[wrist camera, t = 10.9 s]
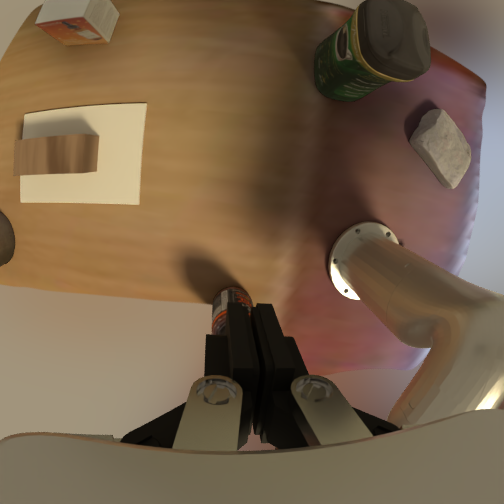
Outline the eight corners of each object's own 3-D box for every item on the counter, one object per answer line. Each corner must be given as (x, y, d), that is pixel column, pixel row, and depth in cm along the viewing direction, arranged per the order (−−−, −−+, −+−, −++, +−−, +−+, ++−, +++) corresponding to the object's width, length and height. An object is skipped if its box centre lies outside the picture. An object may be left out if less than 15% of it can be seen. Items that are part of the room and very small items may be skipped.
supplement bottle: (260, 300, 45) (272, 341, 35) (235, 327, 46) (241, 372, 36) (228, 277, 44) (232, 315, 33) (204, 306, 45) (201, 349, 34)
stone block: (423, 105, 41) (403, 143, 41) (442, 99, 36) (424, 139, 36) (458, 153, 44) (441, 192, 44) (477, 151, 40) (461, 193, 39)
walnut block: (84, 133, 31) (15, 140, 29) (82, 173, 32) (13, 176, 30) (99, 136, 35) (33, 140, 34) (97, 171, 37) (31, 173, 35)
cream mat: (147, 103, 35) (146, 103, 35) (139, 204, 39) (138, 204, 39) (26, 114, 33) (24, 114, 32) (21, 202, 37) (20, 202, 36)
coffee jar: (362, 106, 38) (443, 84, 21) (311, 97, 37) (374, 60, 20) (362, 49, 36) (433, 6, 18) (312, 38, 35) (367, -22, 17)
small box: (65, 46, 30) (32, 25, 20) (77, 17, 29) (48, -10, 19) (110, 44, 32) (82, 17, 22) (121, 13, 30) (98, -19, 20)
